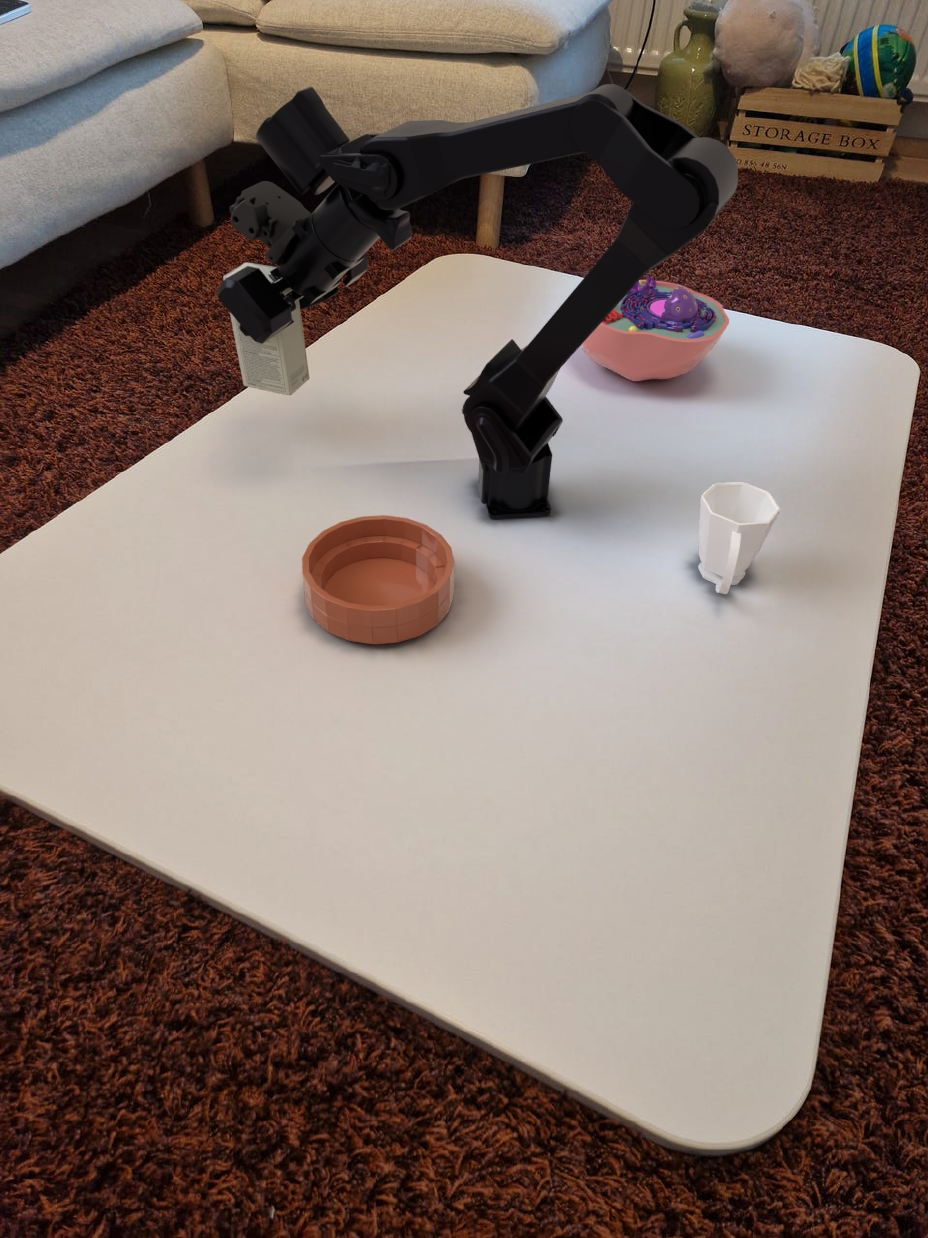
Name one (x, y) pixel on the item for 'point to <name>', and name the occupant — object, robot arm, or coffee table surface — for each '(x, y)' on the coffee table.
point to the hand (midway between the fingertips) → (256, 323)
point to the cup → (732, 530)
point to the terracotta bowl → (378, 579)
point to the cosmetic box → (273, 352)
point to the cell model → (657, 331)
